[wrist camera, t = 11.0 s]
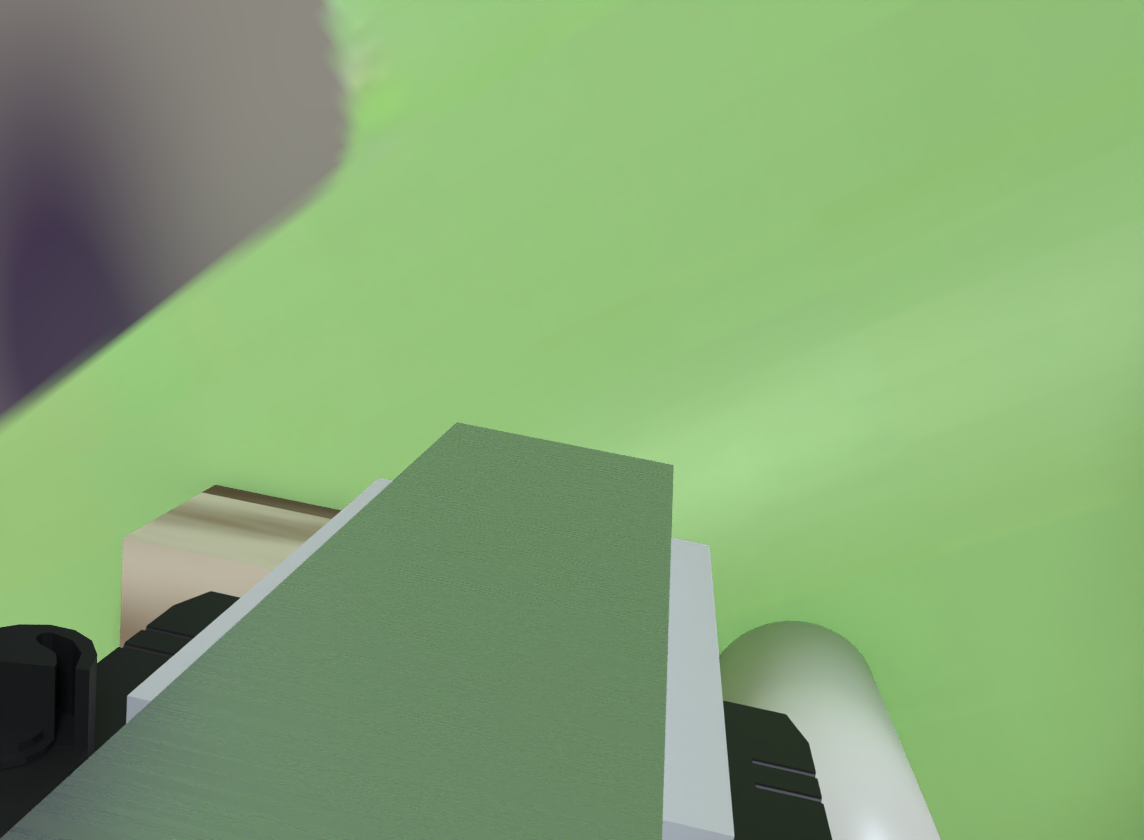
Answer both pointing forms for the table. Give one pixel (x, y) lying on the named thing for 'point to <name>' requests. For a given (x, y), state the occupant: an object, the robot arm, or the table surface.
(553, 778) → the square peg
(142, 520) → the table surface
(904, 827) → the round peg
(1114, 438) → the table surface
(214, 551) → the socket block
